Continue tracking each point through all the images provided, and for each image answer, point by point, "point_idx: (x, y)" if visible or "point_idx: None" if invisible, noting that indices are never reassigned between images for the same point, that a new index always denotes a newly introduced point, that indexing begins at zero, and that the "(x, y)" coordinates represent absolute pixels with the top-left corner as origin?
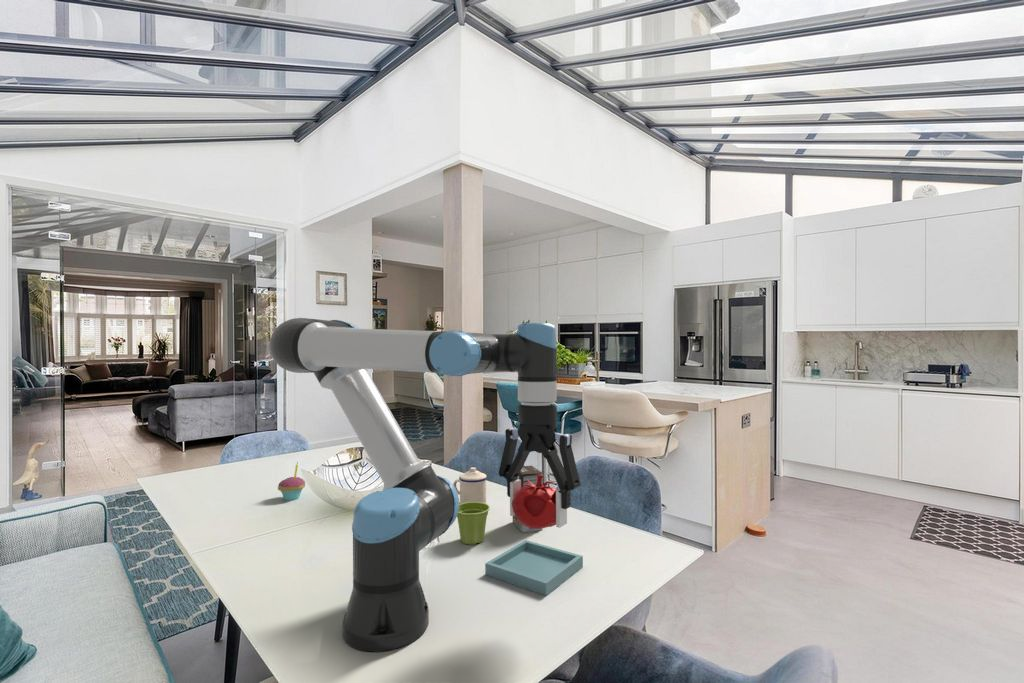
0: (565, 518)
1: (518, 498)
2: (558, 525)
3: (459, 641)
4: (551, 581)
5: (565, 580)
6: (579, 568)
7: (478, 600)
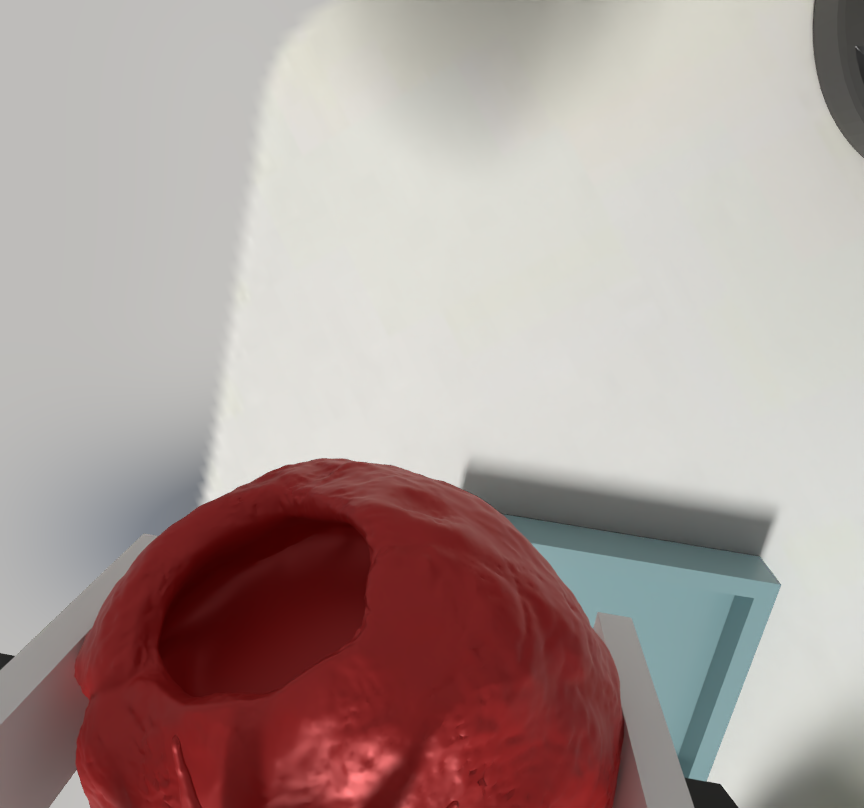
0: None
1: (452, 613)
2: (144, 542)
3: (633, 68)
4: None
5: None
6: None
7: (697, 369)
